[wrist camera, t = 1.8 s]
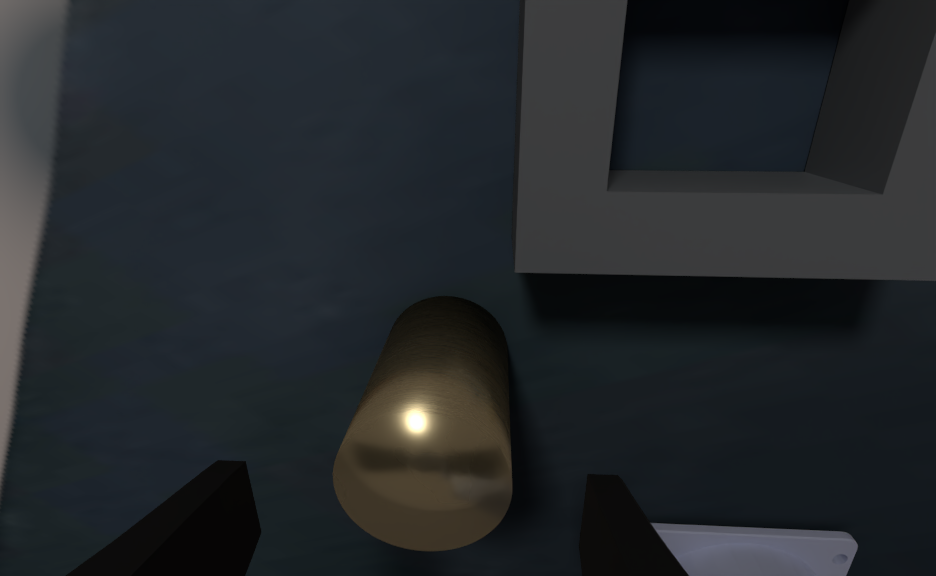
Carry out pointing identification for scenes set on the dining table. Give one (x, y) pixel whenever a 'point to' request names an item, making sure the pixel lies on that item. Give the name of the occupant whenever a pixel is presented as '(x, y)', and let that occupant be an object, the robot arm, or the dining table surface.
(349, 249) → the dining table surface
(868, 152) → the coupling block
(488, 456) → the brass cylinder
